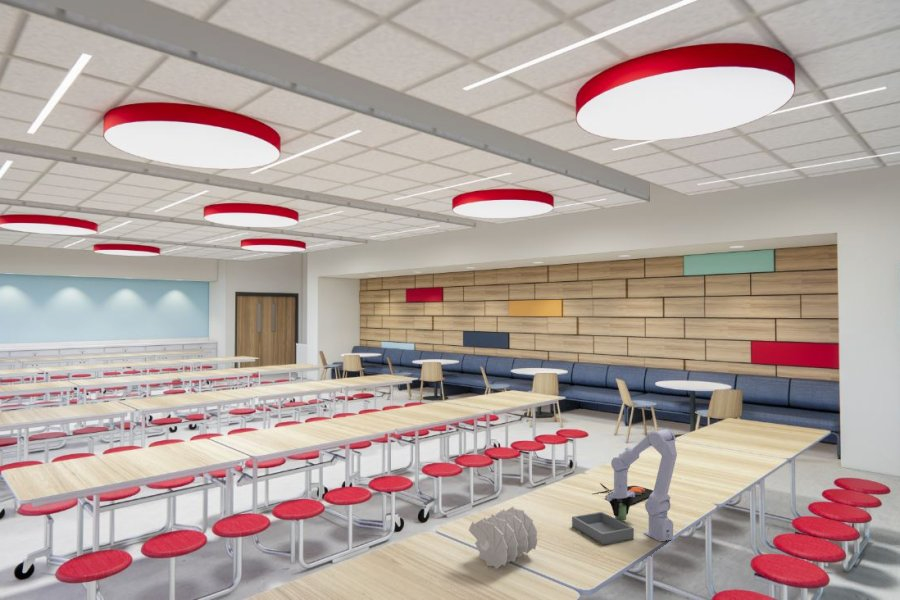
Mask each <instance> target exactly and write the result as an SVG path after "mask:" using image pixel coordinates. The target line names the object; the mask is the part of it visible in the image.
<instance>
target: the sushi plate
mask: <svg viewBox="0 0 900 600" xmlns="http://www.w3.org/2000/svg"><path fill="white" fill-rule="evenodd" d="M599 484H600V485H601V487H603V488H604V489H606V490H604V491H599V492H594V493H592V495H598V494H599V493H600V494H604V493H608V492H610V493H608V494H607V495H610V494H612V493H613V492H614V488H613V489H609V488H607V486H605V485H604V484H603V483H602V482H601V483H599ZM653 491H654V489H649V488H646V487H642V486H638V485H630V486H629V485H627V492H634V493H635V497H631V498H632V499H633V502H632V503H631V505H633V504H635V503H637V502H639V501H642V500H645V499H647V498H649V496H650V494H651V493H652V492H653ZM604 497H605V498H606V495H605V496H604ZM617 500H618V501H619V502H620V503H622V499H617Z"/></svg>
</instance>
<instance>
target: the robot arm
mask: <svg viewBox="0 0 900 600" xmlns="http://www.w3.org/2000/svg"><path fill="white" fill-rule="evenodd" d="M650 447H653V448H654V449H655V450H656V451H657V452H658V453H659V454H660V456H661V457H660V458H661V459H660V462H659V465H658V466H659V467H658V470H657V474H656V480H655V484H654V488H653V490H654V491H653V492H652V493H651V494H650V496H649V497H648V499H647V500H646V502H645V503H644V508H645V511H646V513H647V515H648V530H647V531H643V534H645V535H647V536H648V537H650V538H652V539H654V540H656V541H658V540H659V541H658V542H660V543H661V541H663V542H666V540H667V541H671V540H675V538H676V537H674V523H673V521H672V520H671V519H670V518H669V517H668V511H670V510H671V496H670V494H669V489H670V487H671V486H670V485H671V482H672V477H673V473H674V469H675V464H676V461H677V458H678V457H677V454H678V453H677V448H676V436H675V435H674V434H673V432H672V431H671V430H670V429H668V428H665V429H661V430H656V431H655V430H654V431H651V432H650V433H649V434H646V435H645V437H643V439H641V440H640V441H639V442H638V443H637V444H636V445H635V446H633V447H632V446H631V447H630V446H628V447H626V448H624V451H623V452H621V453H619V454H618V457H617V456H616V457H613V458H612V460H611V461H610V465H611V468H612V469H613V489H614V490H613V491H612V492H613V493H612V494H610V493H609V494H610V495H608V494H606V495H605V496H606V497H605V498H606V501H608V503H609V504H610V506H611V509H612V513H613V515H614V517H615V516H618V513H619V505H620V502H619V501H618V500H617V499H622V504H625V505H626V516H627V515H628V514H629V510H630V507H631V505H632V504H631V503H632V502H633V499H632V498H631V497H635V493H634V492H627V487H628V473H629V469H630V467H631V465H632V464H633V463H635V462H636V461H637V460H639V459H640V454H641V453H642V452H643V451H645V450H646V449H648V448H650Z"/></svg>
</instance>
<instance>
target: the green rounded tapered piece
mask: <svg viewBox="0 0 900 600" xmlns="http://www.w3.org/2000/svg"><path fill="white" fill-rule="evenodd" d="M614 518H615V519H617V520H619V521H621V522H623V521H624V522H625V521H627V515H626V505H625V504H622V503H620V505H619V513H618V516H615V515H614Z"/></svg>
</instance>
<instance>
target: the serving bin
mask: <svg viewBox="0 0 900 600" xmlns="http://www.w3.org/2000/svg"><path fill="white" fill-rule="evenodd" d="M571 528H573V529H574V530H576V531H577V532H579V533H581V534H583V535H584V536H586V537H588V538H589V539H591V540H593V541H594V542H595V543H597V544H599V545H601V546H607V545H613V544H616V543H622V542H626V541H632V539H633V540H634V539H635V538H634V537H635V536H634V535H635V534H634V533H635V531H634V530H635V528H634V527H632V526H630V525H629V524H626V523H625V522H623V521H620V520H617V519H615V517H612V516H610V515H609V514H607V513H605V512H603V511H598V512H592V513H586V514H580V515H574V516H572V517H571Z"/></svg>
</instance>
